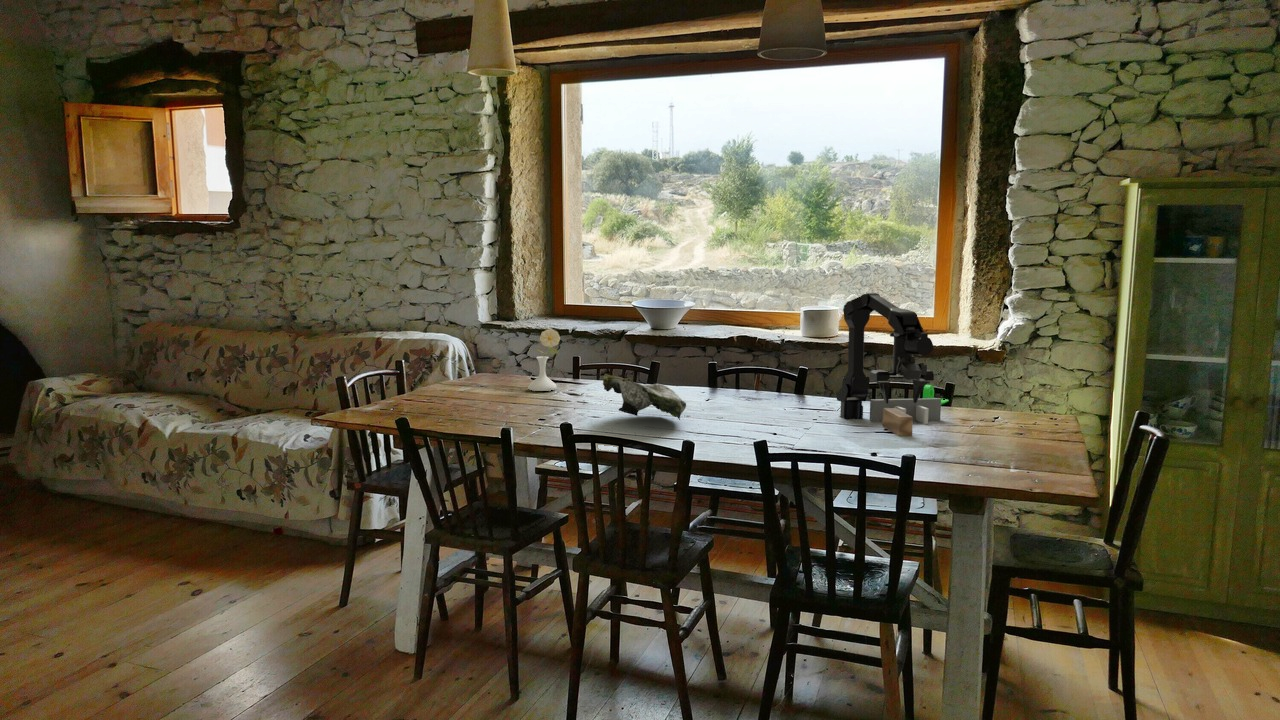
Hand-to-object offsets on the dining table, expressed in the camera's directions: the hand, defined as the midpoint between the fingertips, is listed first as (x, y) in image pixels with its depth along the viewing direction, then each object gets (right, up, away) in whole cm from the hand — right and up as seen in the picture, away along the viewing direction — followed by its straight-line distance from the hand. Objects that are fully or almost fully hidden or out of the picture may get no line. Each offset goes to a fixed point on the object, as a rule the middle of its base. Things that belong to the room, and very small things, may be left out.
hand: (900, 403), depth 266 cm
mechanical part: (+29, -4, +51) cm, 59 cm away
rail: (0, -9, +3) cm, 9 cm away
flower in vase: (-118, 0, +78) cm, 141 cm away
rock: (-81, -6, +18) cm, 83 cm away
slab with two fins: (+8, -7, +18) cm, 21 cm away
